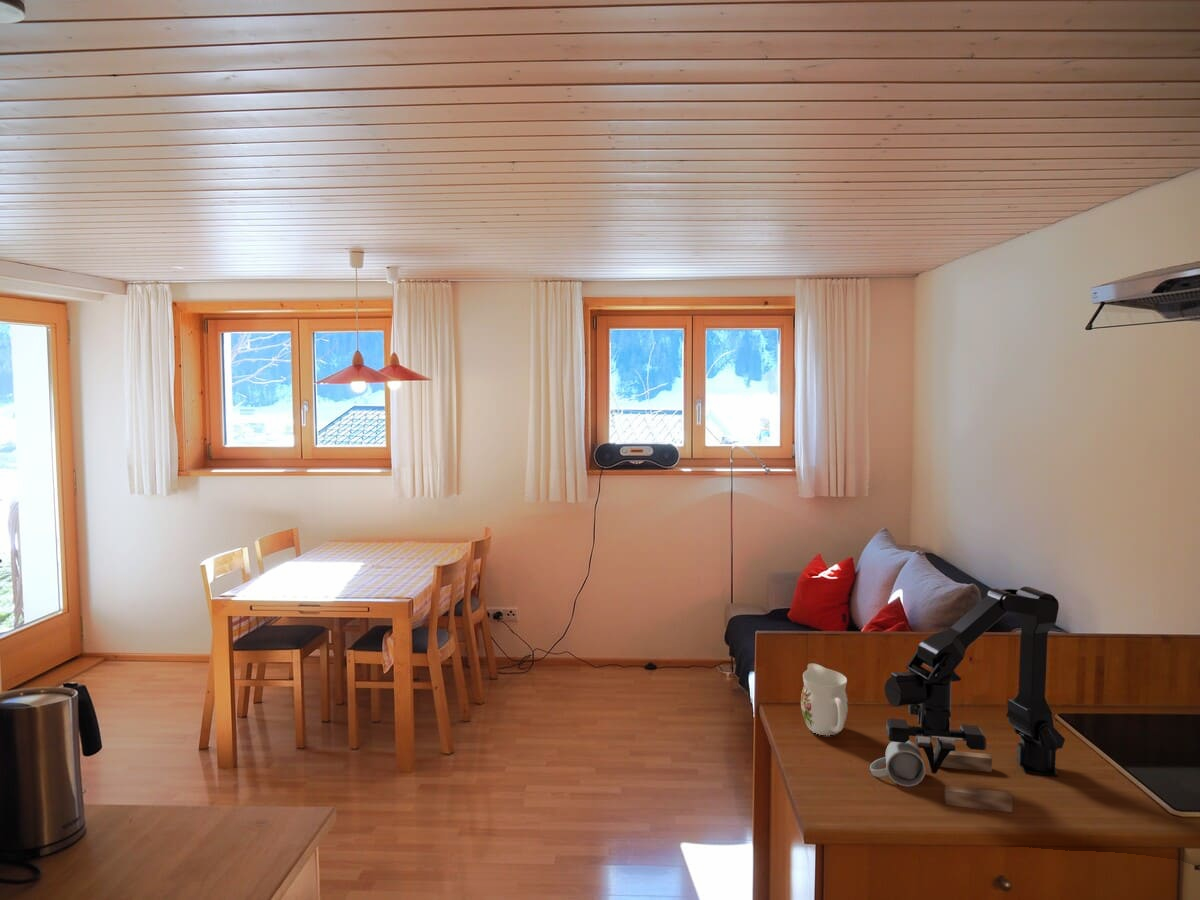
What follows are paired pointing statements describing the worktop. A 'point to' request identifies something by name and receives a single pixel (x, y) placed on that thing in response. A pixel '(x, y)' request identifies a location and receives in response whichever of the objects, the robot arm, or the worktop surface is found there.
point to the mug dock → (970, 795)
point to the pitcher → (824, 700)
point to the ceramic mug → (901, 764)
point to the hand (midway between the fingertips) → (933, 772)
